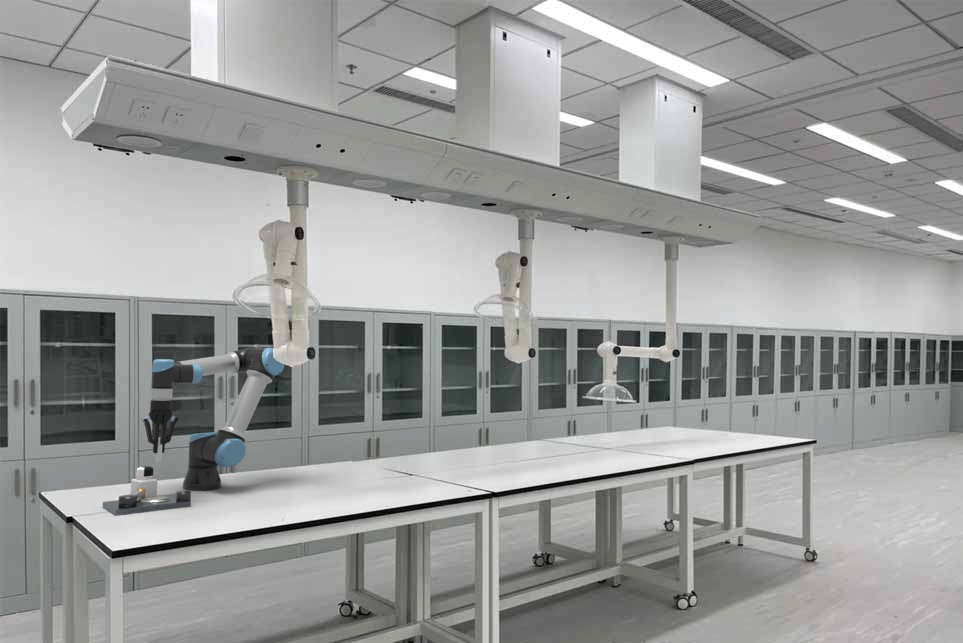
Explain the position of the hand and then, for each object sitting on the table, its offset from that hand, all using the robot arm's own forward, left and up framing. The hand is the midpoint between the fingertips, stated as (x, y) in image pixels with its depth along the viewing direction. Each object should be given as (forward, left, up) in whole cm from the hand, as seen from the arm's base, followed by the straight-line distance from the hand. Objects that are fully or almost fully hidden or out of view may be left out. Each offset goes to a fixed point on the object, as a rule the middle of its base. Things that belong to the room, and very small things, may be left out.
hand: (158, 461), depth 273 cm
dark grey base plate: (+5, +5, -16) cm, 17 cm away
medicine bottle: (+1, -12, -16) cm, 20 cm away
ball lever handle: (+9, +4, -13) cm, 17 cm away
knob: (-6, +10, -14) cm, 18 cm away
